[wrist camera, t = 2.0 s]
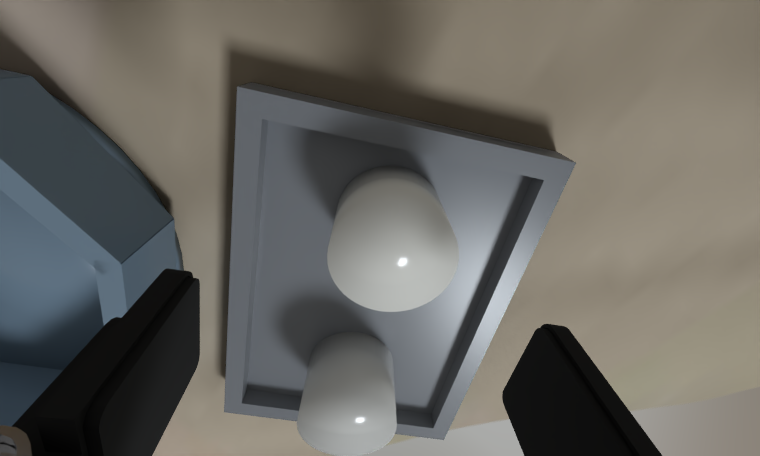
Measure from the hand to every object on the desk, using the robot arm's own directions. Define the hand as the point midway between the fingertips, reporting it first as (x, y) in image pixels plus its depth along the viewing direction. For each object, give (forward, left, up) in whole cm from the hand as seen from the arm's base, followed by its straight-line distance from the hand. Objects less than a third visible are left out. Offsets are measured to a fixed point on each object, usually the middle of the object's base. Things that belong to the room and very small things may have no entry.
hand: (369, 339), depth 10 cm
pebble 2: (-1, +10, -8) cm, 13 cm away
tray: (-1, +5, -9) cm, 10 cm away
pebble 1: (-1, 0, -8) cm, 8 cm away
